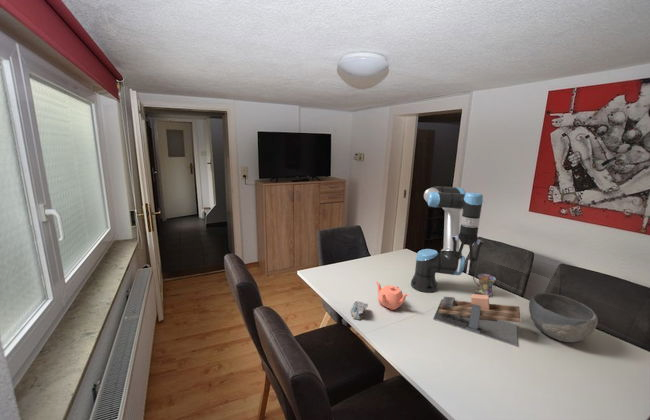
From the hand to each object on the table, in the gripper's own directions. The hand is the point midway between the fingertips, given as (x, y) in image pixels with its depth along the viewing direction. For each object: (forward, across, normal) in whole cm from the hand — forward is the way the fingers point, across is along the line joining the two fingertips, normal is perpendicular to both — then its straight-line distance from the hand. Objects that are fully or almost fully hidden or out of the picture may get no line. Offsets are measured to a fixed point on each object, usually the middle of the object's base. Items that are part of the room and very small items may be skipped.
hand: (462, 271), depth 139 cm
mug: (+25, +9, +37) cm, 45 cm away
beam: (+21, +9, 0) cm, 23 cm away
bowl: (+25, +41, +12) cm, 50 cm away
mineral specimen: (+25, -42, -26) cm, 55 cm away
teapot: (+25, -32, -10) cm, 42 cm away
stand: (+25, +8, 0) cm, 26 cm away
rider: (+17, +10, 0) cm, 20 cm away
